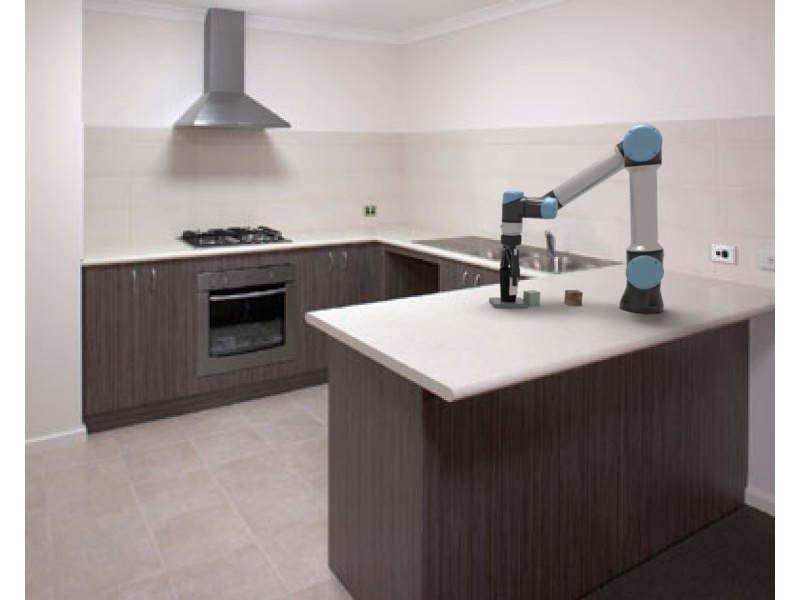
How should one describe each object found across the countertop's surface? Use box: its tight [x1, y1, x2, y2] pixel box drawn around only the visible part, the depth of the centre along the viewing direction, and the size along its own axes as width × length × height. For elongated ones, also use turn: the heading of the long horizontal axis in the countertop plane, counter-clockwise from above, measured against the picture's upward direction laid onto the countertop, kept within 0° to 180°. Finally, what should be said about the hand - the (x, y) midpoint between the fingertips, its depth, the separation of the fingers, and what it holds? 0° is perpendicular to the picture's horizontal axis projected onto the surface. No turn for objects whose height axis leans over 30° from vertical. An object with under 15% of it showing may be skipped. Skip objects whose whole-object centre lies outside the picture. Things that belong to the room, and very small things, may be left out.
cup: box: [499, 266, 520, 302], centre depth 235 cm, size 8×8×12 cm
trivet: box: [488, 296, 529, 309], centre depth 237 cm, size 12×11×2 cm
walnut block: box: [563, 289, 583, 307], centre depth 238 cm, size 5×5×5 cm
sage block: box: [522, 289, 541, 307], centre depth 237 cm, size 4×4×5 cm
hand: (508, 291), depth 236 cm, fingers open, 13 cm apart
